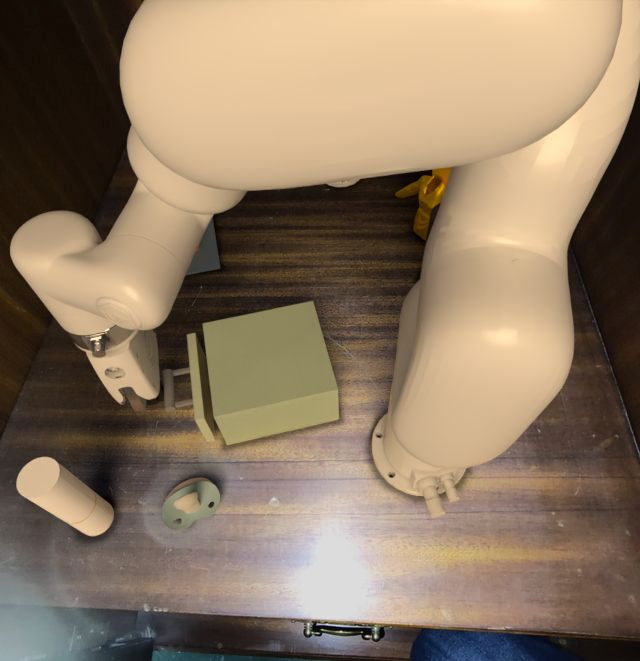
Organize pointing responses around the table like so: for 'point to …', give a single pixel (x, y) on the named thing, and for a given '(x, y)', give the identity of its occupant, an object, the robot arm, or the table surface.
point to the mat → (206, 253)
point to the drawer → (193, 389)
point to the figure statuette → (426, 197)
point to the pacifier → (190, 503)
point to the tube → (64, 496)
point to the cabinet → (269, 373)
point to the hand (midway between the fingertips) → (154, 397)
